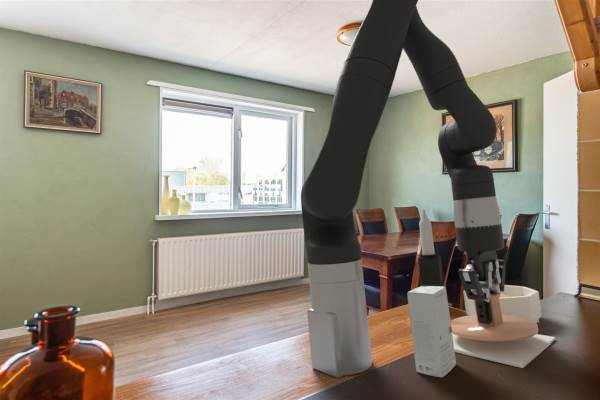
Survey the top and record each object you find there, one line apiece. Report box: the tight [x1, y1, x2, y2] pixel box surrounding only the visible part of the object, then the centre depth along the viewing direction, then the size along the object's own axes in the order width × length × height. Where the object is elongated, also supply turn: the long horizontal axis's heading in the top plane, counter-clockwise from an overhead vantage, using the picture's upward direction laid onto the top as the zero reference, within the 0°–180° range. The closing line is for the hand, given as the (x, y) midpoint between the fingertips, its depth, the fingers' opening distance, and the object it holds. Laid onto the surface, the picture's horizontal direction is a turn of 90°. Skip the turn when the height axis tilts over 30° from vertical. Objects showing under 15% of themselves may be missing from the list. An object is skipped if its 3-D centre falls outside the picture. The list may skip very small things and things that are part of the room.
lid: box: [450, 294, 539, 341], centre depth 62 cm, size 14×14×6 cm
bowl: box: [462, 284, 543, 322], centre depth 75 cm, size 13×13×6 cm
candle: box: [417, 208, 445, 287], centre depth 90 cm, size 5×5×25 cm
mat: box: [452, 333, 556, 369], centre depth 62 cm, size 15×15×1 cm
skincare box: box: [406, 286, 457, 378], centre depth 55 cm, size 6×4×12 cm
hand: (490, 320), depth 62 cm, fingers closed on lid, 3 cm apart
